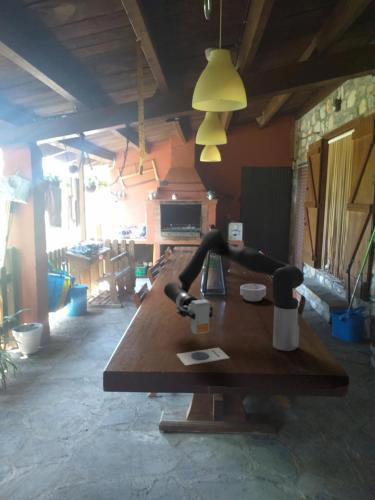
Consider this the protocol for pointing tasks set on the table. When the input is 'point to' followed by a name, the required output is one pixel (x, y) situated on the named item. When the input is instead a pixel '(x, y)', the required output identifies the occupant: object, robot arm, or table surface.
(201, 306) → the skincare box
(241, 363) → the table surface
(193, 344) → the table surface
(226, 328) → the table surface
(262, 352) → the table surface
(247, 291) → the paper bowls
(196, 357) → the paper sheet
